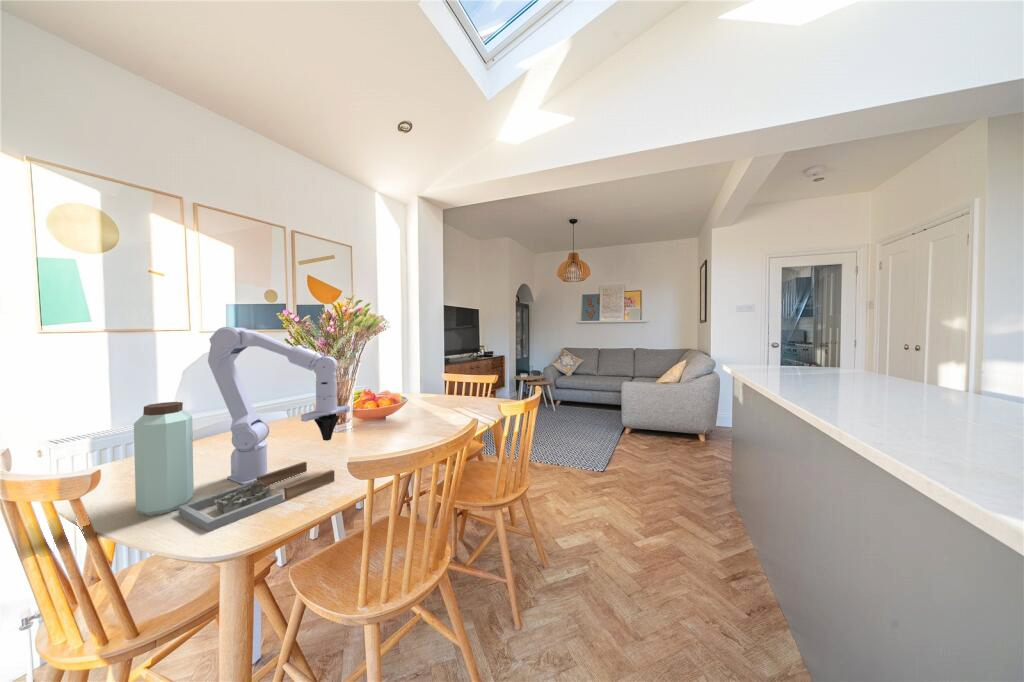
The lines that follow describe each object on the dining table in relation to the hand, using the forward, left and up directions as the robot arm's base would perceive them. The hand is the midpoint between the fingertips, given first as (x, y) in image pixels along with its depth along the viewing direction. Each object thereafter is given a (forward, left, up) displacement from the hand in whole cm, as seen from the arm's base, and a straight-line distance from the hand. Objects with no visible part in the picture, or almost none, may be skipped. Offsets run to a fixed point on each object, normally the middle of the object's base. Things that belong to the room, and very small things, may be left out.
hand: (327, 439), depth 108 cm
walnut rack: (+2, -11, -9) cm, 14 cm away
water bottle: (-13, -33, -10) cm, 37 cm away
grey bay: (+2, -26, -9) cm, 27 cm away
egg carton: (+2, -23, -10) cm, 25 cm away
